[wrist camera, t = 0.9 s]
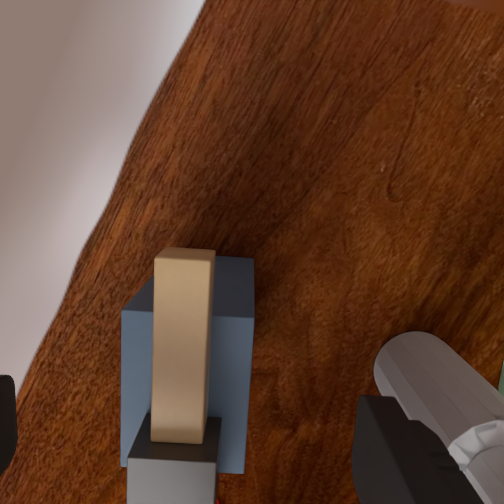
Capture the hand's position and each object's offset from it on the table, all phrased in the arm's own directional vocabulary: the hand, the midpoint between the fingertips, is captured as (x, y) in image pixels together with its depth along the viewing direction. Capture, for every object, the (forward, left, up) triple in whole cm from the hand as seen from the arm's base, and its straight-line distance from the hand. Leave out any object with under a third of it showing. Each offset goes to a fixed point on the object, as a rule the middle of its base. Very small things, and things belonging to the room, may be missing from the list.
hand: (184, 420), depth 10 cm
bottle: (+9, +15, -23) cm, 28 cm away
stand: (+5, -1, -23) cm, 23 cm away
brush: (+4, -1, -10) cm, 10 cm away
